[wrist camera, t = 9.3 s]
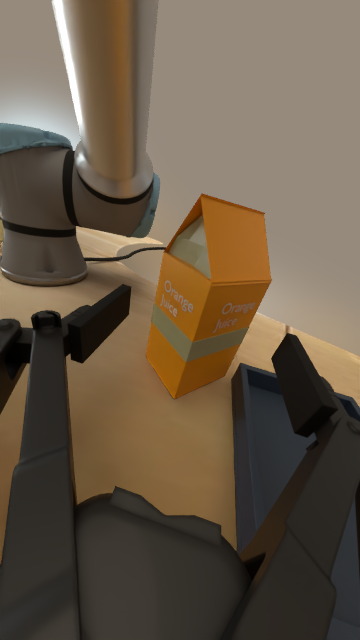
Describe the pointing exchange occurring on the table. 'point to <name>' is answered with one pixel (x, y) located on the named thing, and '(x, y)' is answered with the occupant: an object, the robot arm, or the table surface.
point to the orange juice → (207, 293)
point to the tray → (284, 480)
